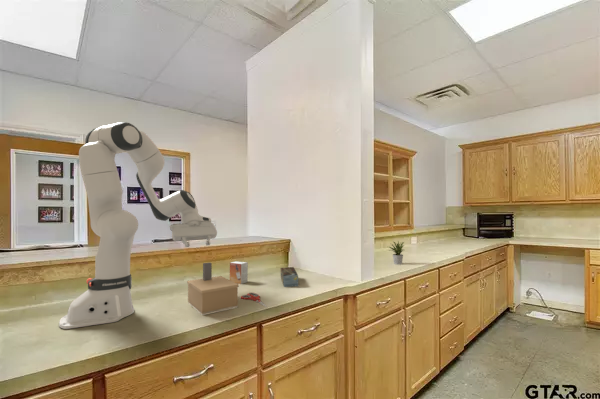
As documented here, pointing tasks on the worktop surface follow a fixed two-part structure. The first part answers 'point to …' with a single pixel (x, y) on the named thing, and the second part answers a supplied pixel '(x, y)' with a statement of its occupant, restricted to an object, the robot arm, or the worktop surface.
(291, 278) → the beverage carton
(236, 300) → the carton
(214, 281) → the carton lid
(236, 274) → the small box
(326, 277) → the worktop surface
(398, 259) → the house plant
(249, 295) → the scissors
